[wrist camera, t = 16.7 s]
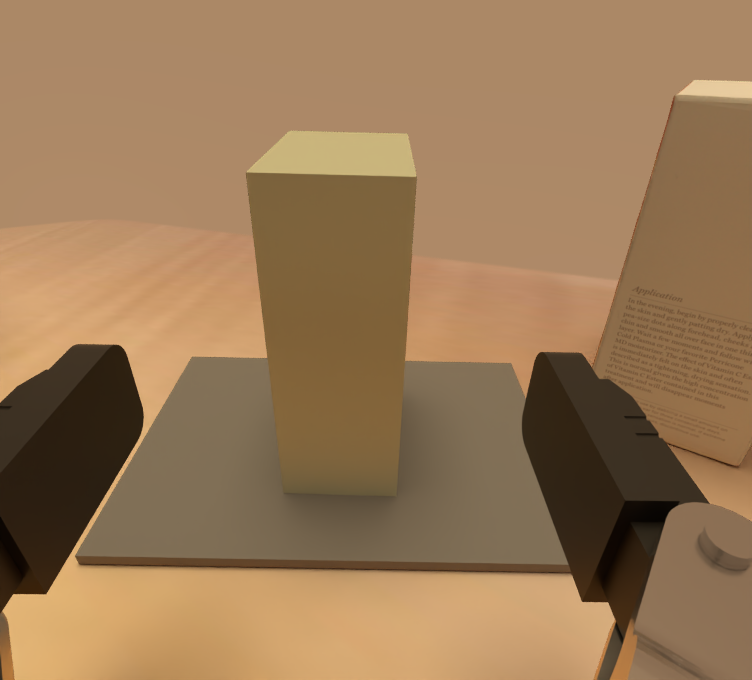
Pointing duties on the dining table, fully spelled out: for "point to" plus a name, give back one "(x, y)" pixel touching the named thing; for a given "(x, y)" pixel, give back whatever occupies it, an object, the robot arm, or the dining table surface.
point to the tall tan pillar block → (335, 303)
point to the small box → (691, 280)
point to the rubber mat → (326, 511)
